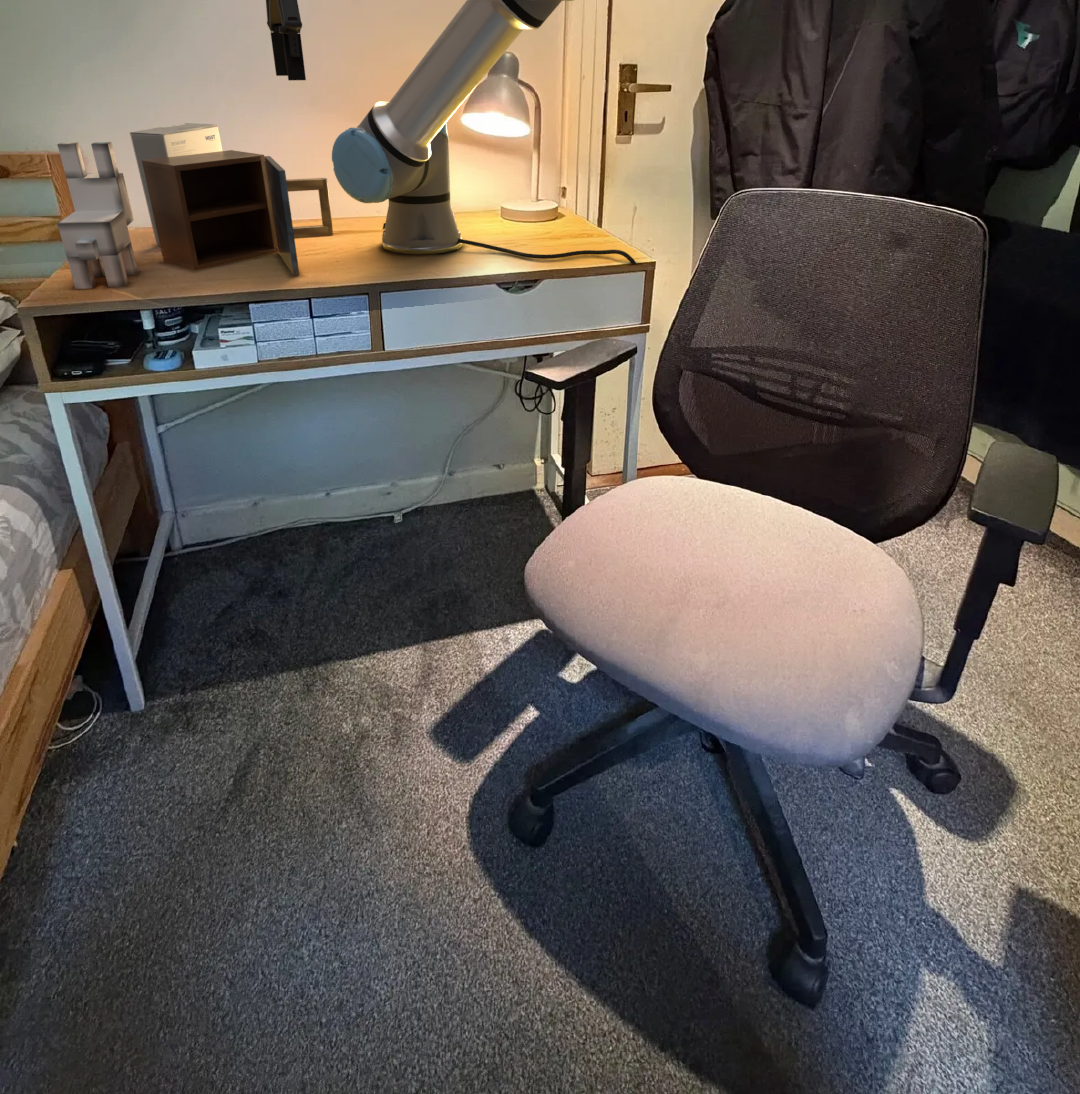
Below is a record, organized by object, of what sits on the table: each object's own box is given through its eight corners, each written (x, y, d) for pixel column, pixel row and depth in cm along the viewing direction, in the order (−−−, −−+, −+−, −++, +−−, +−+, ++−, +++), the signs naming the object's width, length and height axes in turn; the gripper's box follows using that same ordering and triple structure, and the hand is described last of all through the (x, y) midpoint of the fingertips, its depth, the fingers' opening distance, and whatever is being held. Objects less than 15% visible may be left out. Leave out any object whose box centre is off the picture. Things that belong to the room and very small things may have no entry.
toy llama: (71, 293, 133) (32, 154, 123) (98, 266, 148) (66, 140, 137) (121, 291, 135) (87, 154, 124) (144, 264, 149) (115, 140, 139)
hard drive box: (208, 230, 174) (188, 122, 163) (239, 233, 172) (220, 124, 161) (154, 245, 162) (128, 130, 151) (186, 249, 159) (162, 132, 149)
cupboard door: (320, 249, 160) (309, 154, 151) (339, 271, 146) (327, 168, 137) (278, 252, 157) (264, 156, 149) (293, 275, 143) (278, 170, 135)
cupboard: (278, 252, 158) (264, 154, 149) (195, 271, 146) (173, 165, 137) (247, 245, 163) (231, 149, 154) (163, 262, 151) (141, 160, 142)
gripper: (237, -73, 140) (258, 73, 152) (256, -87, 121) (278, 82, 132) (283, -70, 143) (300, 73, 154) (309, -84, 123) (326, 81, 135)
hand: (290, 78), depth 143 cm, fingers open, 13 cm apart
